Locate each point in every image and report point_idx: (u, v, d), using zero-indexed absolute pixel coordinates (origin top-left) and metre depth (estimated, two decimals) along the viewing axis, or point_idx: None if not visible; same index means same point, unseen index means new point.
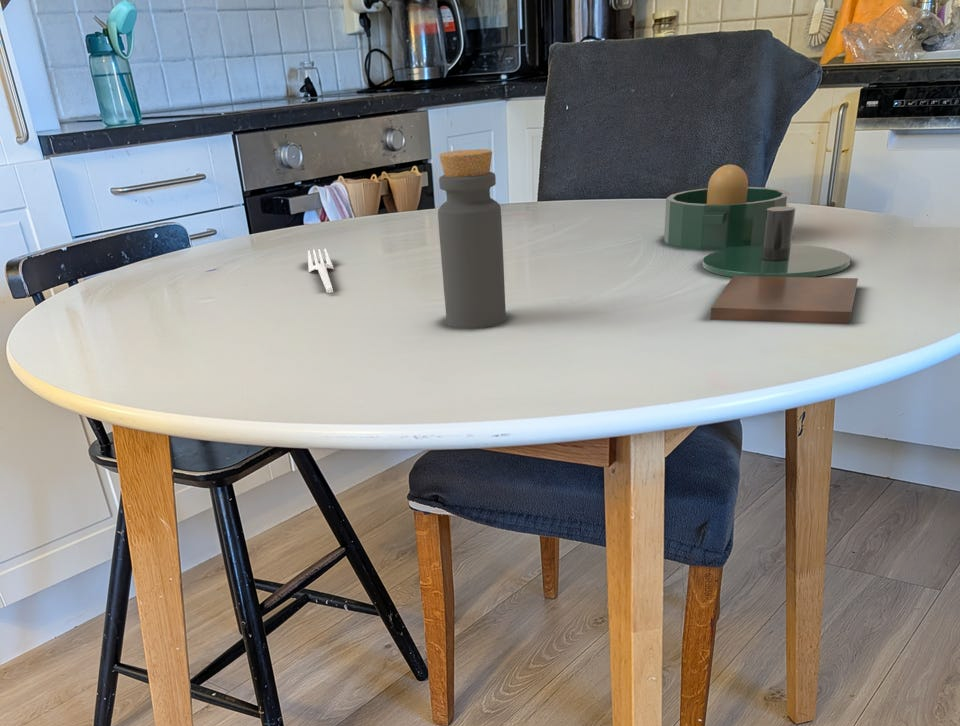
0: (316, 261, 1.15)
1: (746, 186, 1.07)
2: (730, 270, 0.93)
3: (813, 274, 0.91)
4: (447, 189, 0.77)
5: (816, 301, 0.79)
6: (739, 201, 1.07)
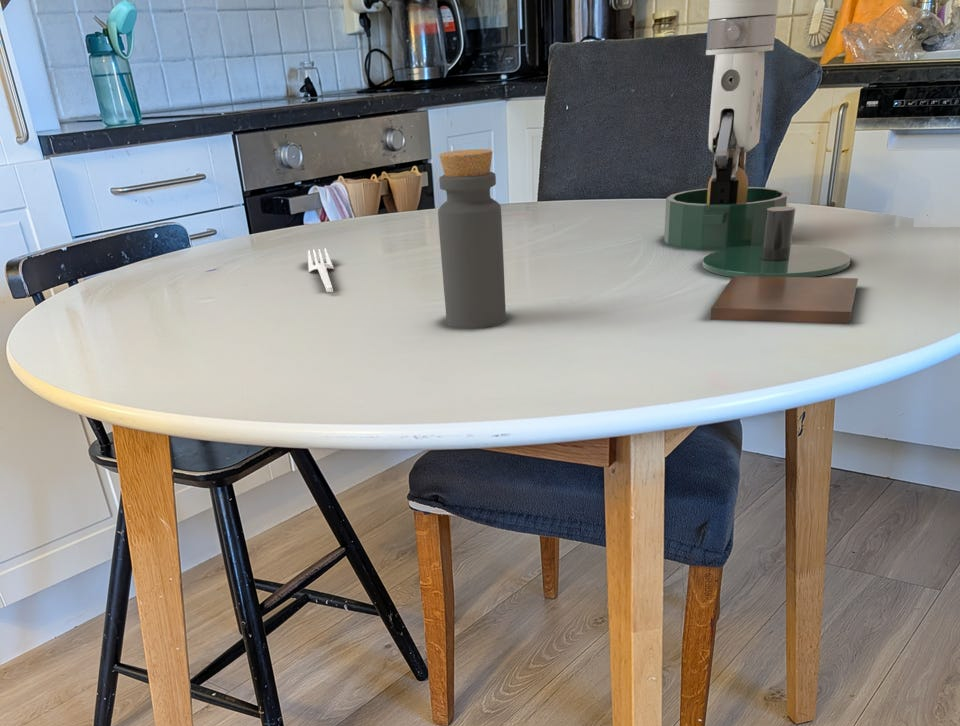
0: (316, 261, 1.15)
1: (746, 186, 1.07)
2: (730, 270, 0.93)
3: (813, 274, 0.91)
4: (447, 189, 0.77)
5: (816, 301, 0.79)
6: (739, 201, 1.07)
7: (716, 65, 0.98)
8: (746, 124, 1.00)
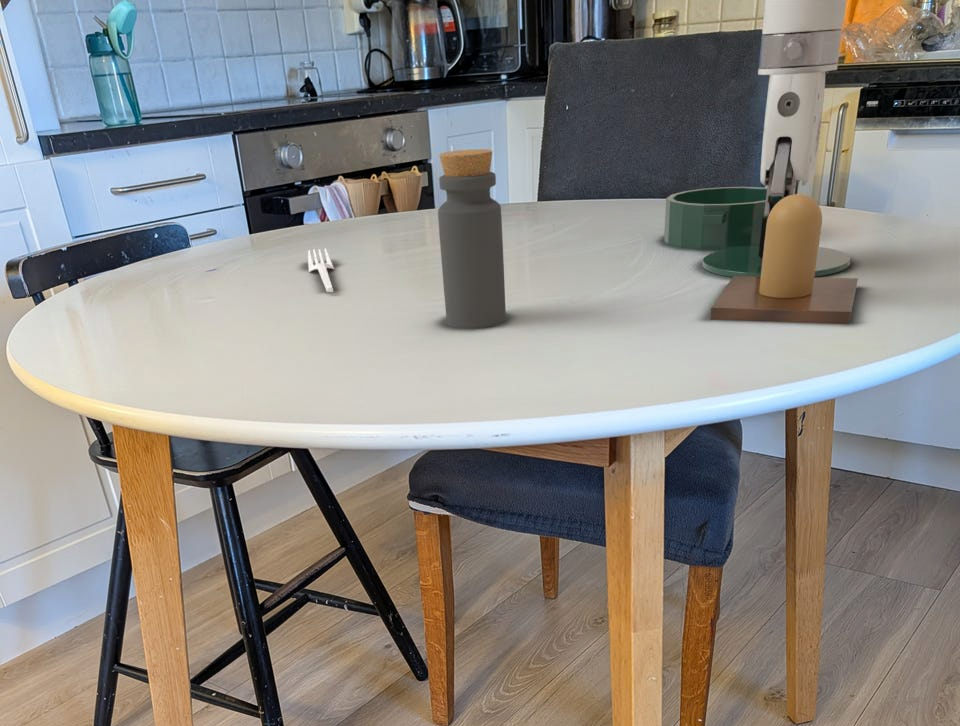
0: (316, 261, 1.15)
1: (820, 223, 0.78)
2: (730, 270, 0.93)
3: None
4: (447, 189, 0.77)
5: (816, 301, 0.79)
6: (810, 244, 0.78)
7: (772, 87, 0.85)
8: (805, 154, 0.86)
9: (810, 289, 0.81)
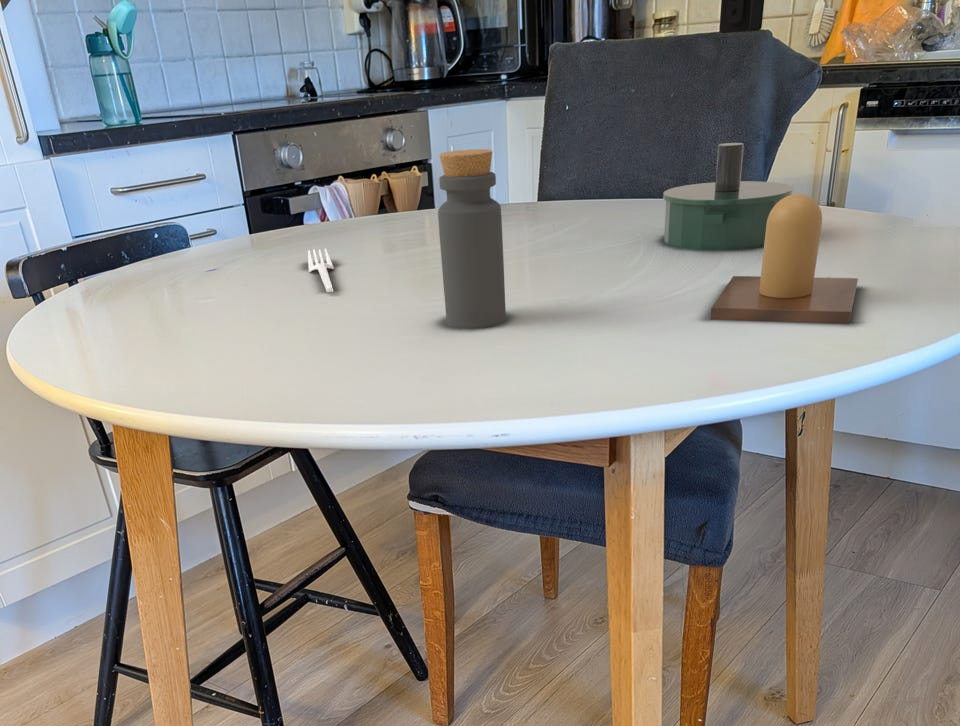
0: (316, 261, 1.15)
1: (820, 223, 0.78)
2: (685, 198, 1.05)
3: (758, 200, 1.02)
4: (447, 189, 0.77)
5: (816, 301, 0.79)
6: (810, 244, 0.78)
7: None
8: None
9: (810, 289, 0.81)
